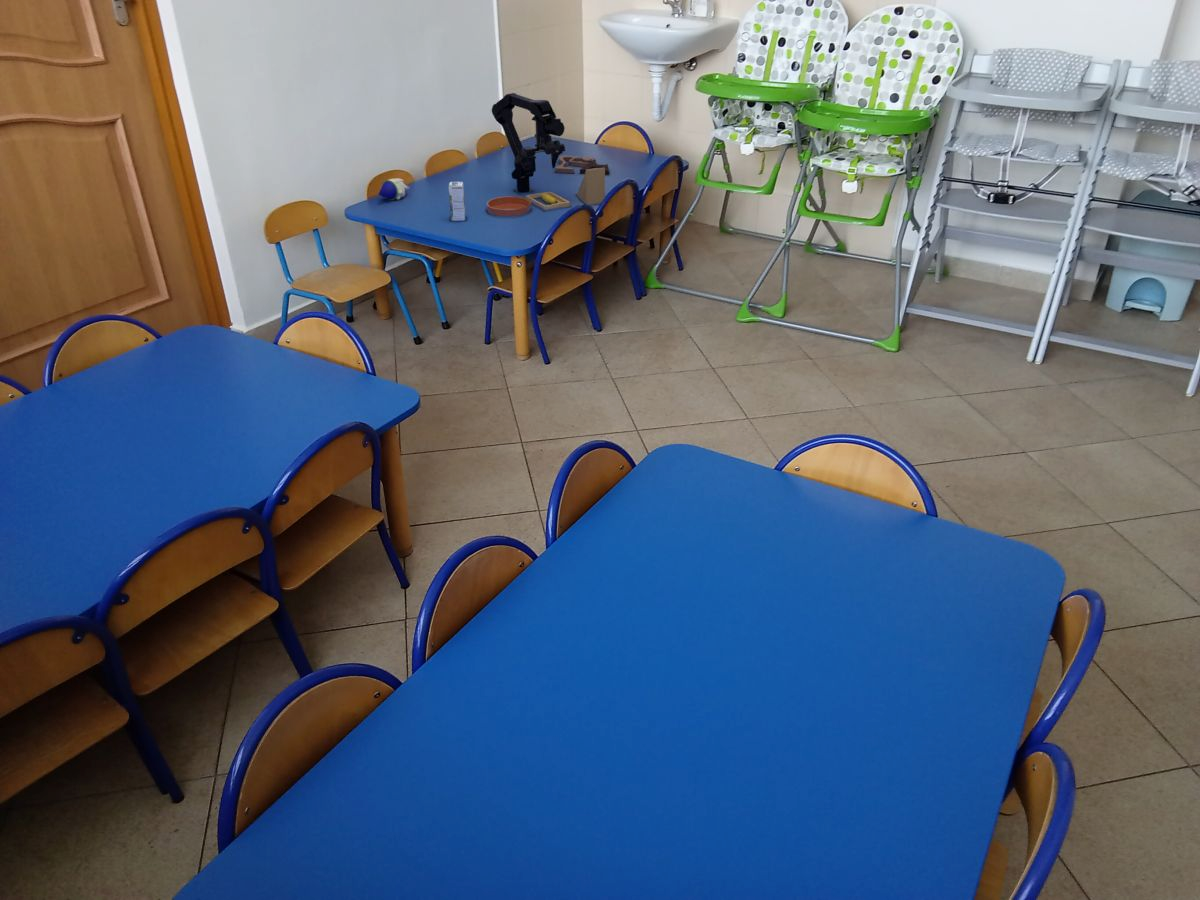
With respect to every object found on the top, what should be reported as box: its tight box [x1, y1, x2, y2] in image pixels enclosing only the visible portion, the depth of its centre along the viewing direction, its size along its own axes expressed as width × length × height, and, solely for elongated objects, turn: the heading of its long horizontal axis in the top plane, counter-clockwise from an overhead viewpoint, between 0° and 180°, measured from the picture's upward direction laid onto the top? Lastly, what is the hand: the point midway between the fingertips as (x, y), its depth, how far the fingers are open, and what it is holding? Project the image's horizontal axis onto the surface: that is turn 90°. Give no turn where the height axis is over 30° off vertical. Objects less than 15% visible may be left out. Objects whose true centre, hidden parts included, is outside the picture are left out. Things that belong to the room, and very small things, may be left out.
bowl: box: [486, 195, 532, 217], centre depth 375 cm, size 18×18×3 cm
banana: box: [540, 192, 558, 205], centre depth 383 cm, size 12×4×3 cm, turn 31°
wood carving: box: [554, 155, 610, 176], centre depth 431 cm, size 28×2×24 cm
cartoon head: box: [378, 177, 411, 201], centre depth 388 cm, size 9×10×20 cm
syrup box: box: [448, 181, 466, 222], centre depth 363 cm, size 6×6×14 cm
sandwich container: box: [576, 168, 606, 205], centre depth 385 cm, size 9×15×15 cm, turn 18°
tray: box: [525, 191, 571, 211], centre depth 383 cm, size 18×12×2 cm
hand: (544, 169), depth 384 cm, fingers open, 9 cm apart
